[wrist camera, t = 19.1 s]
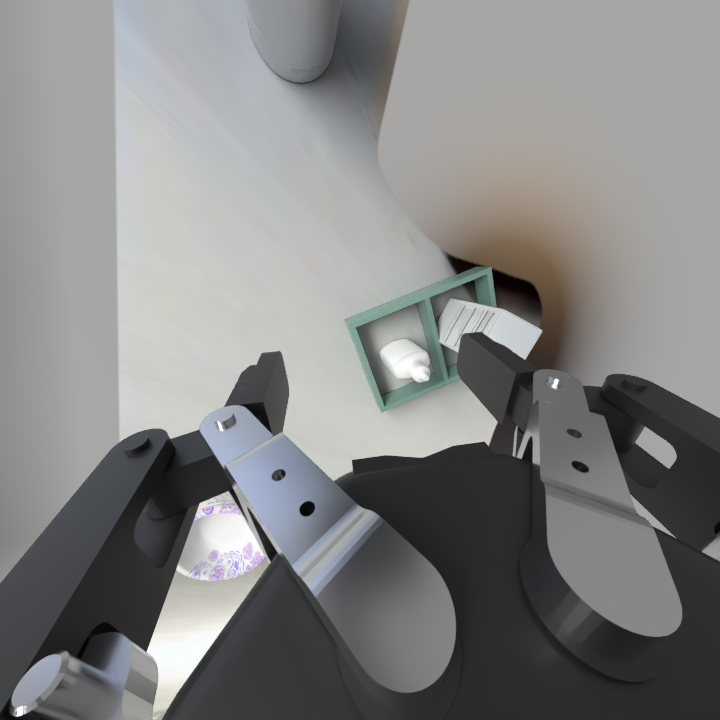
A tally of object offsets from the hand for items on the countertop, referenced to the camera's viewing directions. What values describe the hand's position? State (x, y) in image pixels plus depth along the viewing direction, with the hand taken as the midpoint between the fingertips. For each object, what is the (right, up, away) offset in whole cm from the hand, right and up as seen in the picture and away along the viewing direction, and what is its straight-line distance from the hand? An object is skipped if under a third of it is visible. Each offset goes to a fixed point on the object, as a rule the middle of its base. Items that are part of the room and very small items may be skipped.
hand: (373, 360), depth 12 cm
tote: (+10, +4, +33) cm, 35 cm away
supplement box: (+16, +6, +33) cm, 37 cm away
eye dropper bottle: (+5, +2, +33) cm, 33 cm away
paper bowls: (-24, -26, +36) cm, 51 cm away
